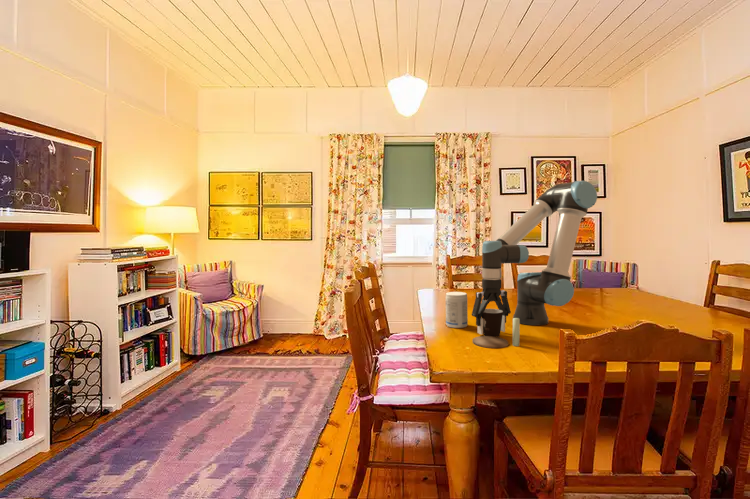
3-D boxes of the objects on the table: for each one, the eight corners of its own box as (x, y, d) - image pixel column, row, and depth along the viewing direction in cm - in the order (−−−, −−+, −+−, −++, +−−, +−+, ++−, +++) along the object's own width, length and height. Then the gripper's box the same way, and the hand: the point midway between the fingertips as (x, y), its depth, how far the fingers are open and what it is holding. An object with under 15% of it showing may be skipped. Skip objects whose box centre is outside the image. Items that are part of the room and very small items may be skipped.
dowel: (516, 344, 145) (516, 317, 144) (520, 345, 143) (521, 319, 142) (511, 344, 144) (511, 318, 143) (515, 346, 142) (515, 319, 141)
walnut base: (493, 336, 155) (493, 334, 155) (515, 345, 143) (515, 343, 143) (465, 340, 150) (465, 338, 150) (486, 349, 138) (486, 347, 138)
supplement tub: (461, 322, 178) (462, 291, 178) (471, 327, 169) (471, 294, 168) (442, 324, 176) (442, 292, 176) (450, 329, 167) (450, 295, 166)
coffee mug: (504, 338, 152) (504, 313, 152) (481, 337, 154) (481, 312, 153) (500, 330, 163) (500, 307, 163) (479, 330, 165) (479, 306, 165)
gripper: (508, 276, 165) (507, 327, 166) (462, 278, 157) (462, 332, 158) (520, 278, 158) (519, 331, 159) (473, 281, 150) (473, 337, 151)
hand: (491, 332), depth 159 cm, fingers open, 10 cm apart
